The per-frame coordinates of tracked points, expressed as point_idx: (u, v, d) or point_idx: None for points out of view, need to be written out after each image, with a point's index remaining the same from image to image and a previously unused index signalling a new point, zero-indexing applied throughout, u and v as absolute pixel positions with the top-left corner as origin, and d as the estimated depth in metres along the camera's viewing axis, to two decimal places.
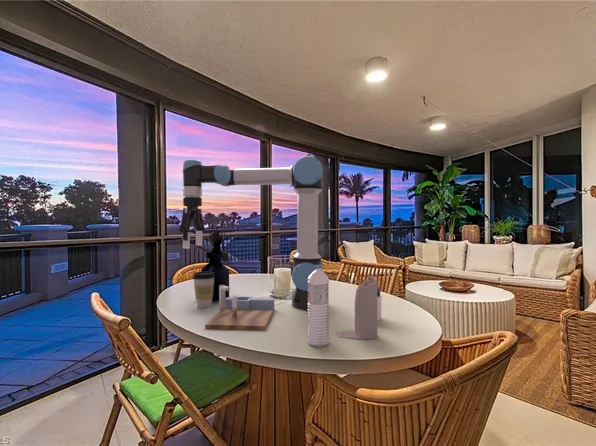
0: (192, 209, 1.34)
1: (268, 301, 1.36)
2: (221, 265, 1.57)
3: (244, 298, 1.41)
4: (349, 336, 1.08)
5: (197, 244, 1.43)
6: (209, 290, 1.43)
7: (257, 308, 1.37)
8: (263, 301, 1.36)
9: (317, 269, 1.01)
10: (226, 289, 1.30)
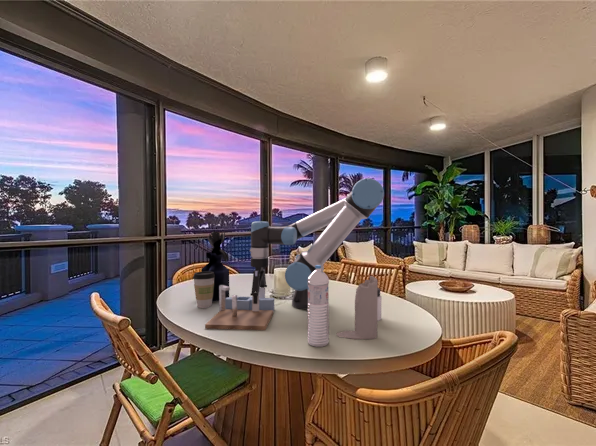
0: (260, 270, 1.35)
1: (268, 301, 1.36)
2: (221, 265, 1.57)
3: (244, 298, 1.41)
4: (349, 336, 1.08)
5: None
6: (209, 290, 1.43)
7: None
8: (263, 301, 1.36)
9: (317, 269, 1.01)
10: (226, 289, 1.30)
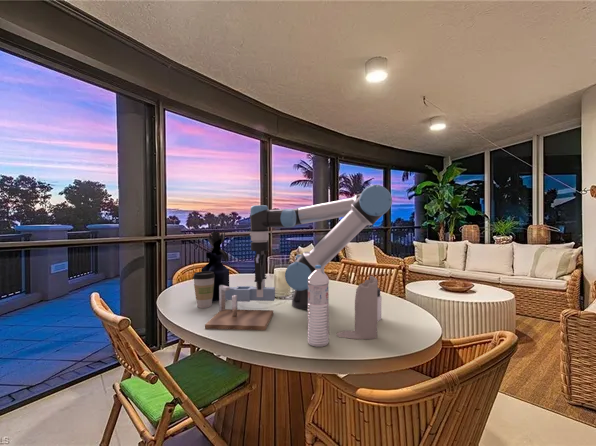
0: (261, 254, 1.35)
1: (268, 290, 1.36)
2: (221, 265, 1.57)
3: (245, 288, 1.41)
4: (349, 336, 1.08)
5: None
6: (209, 290, 1.43)
7: (258, 297, 1.37)
8: (263, 290, 1.36)
9: (317, 269, 1.01)
10: (226, 289, 1.30)
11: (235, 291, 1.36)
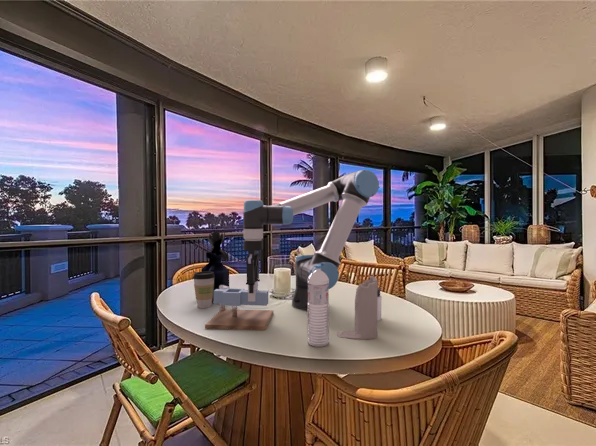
0: (254, 254, 1.22)
1: (261, 293, 1.23)
2: (221, 265, 1.57)
3: (235, 290, 1.28)
4: (349, 336, 1.08)
5: None
6: (209, 290, 1.43)
7: (249, 301, 1.24)
8: (256, 294, 1.23)
9: (317, 269, 1.01)
10: None
11: (224, 294, 1.23)
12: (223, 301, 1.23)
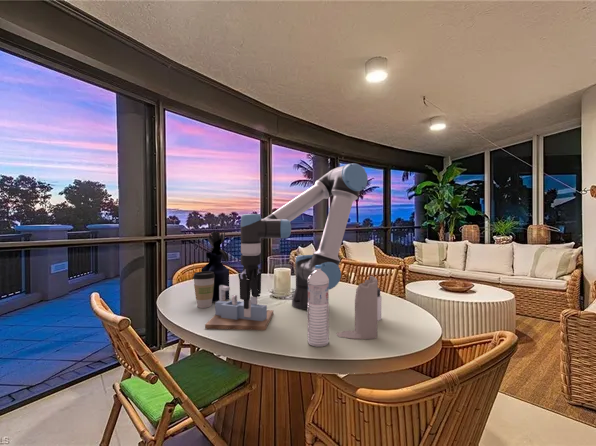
0: (248, 269, 1.20)
1: (257, 308, 1.20)
2: (221, 265, 1.57)
3: (237, 303, 1.28)
4: (349, 336, 1.08)
5: None
6: (209, 290, 1.43)
7: None
8: (252, 308, 1.21)
9: (317, 269, 1.01)
10: (226, 289, 1.30)
11: (223, 306, 1.24)
12: (221, 313, 1.24)
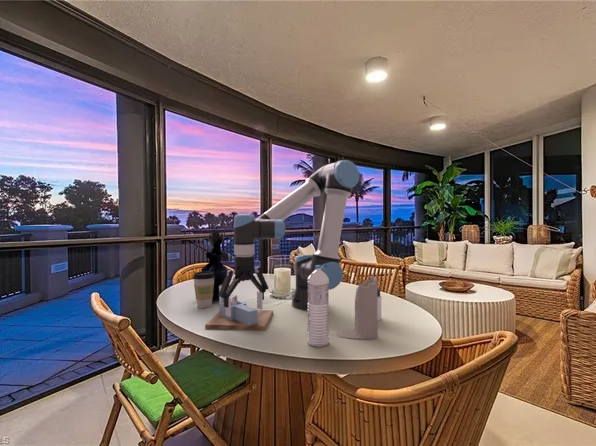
0: (239, 271, 1.17)
1: (246, 311, 1.16)
2: (221, 265, 1.57)
3: (239, 303, 1.28)
4: (349, 336, 1.08)
5: (258, 307, 1.25)
6: (209, 290, 1.43)
7: (239, 317, 1.20)
8: (242, 311, 1.18)
9: (317, 269, 1.01)
10: None
11: (222, 305, 1.25)
12: (221, 312, 1.26)
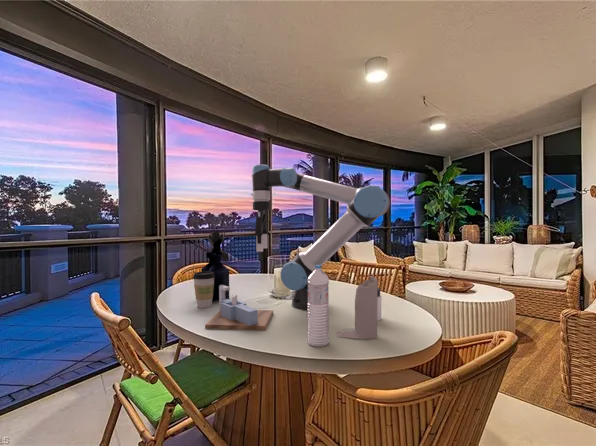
0: (263, 213, 1.37)
1: (246, 311, 1.16)
2: (221, 265, 1.57)
3: (239, 303, 1.28)
4: (349, 336, 1.08)
5: (263, 247, 1.46)
6: (209, 290, 1.43)
7: (239, 317, 1.20)
8: (242, 311, 1.18)
9: (317, 269, 1.01)
10: (226, 289, 1.30)
11: (222, 305, 1.25)
12: (221, 312, 1.26)
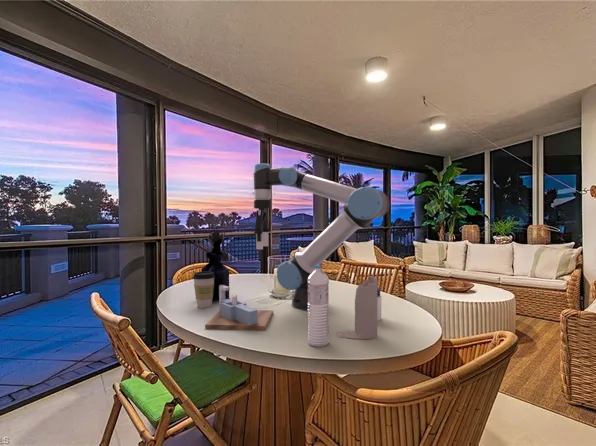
0: (263, 211, 1.39)
1: (246, 311, 1.16)
2: (221, 265, 1.57)
3: (239, 303, 1.28)
4: (349, 336, 1.08)
5: (263, 245, 1.48)
6: (209, 290, 1.43)
7: (239, 317, 1.20)
8: (242, 311, 1.18)
9: (317, 269, 1.01)
10: (226, 289, 1.30)
11: (222, 305, 1.25)
12: (221, 312, 1.26)
